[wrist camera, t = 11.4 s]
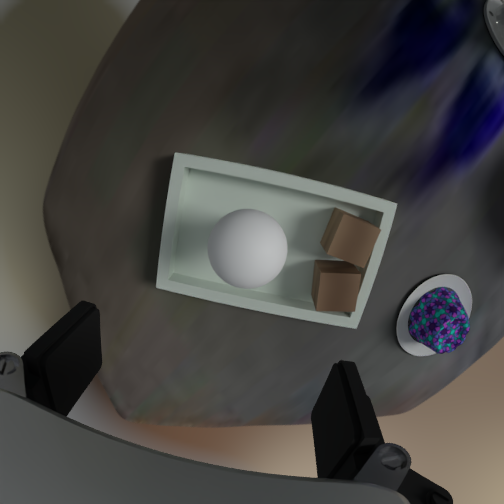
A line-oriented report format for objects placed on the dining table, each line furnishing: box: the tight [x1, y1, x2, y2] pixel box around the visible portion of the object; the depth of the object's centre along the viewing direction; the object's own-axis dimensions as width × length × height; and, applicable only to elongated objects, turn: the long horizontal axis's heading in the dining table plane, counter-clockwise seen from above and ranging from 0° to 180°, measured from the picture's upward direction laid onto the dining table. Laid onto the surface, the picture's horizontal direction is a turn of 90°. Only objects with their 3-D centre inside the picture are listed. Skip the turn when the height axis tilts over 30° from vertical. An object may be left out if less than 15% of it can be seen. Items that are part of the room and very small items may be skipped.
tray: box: [156, 153, 397, 329], centre depth 31 cm, size 22×14×3 cm, turn 78°
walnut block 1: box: [320, 207, 381, 268], centre depth 29 cm, size 4×4×4 cm
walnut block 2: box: [311, 260, 361, 312], centre depth 31 cm, size 4×4×4 cm
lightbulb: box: [207, 209, 287, 289], centre depth 26 cm, size 6×6×11 cm
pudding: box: [396, 274, 472, 356], centre depth 32 cm, size 12×12×5 cm
